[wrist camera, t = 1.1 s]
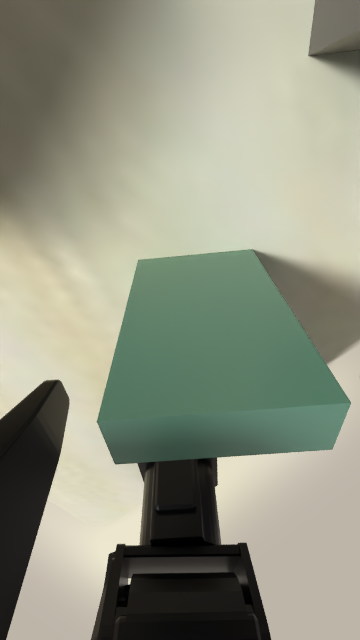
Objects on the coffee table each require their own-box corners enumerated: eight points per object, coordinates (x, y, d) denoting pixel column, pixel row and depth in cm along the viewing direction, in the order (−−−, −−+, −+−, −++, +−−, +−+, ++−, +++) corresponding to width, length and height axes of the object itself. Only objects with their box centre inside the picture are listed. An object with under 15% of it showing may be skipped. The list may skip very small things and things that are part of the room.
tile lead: (250, 283, 14) (332, 449, 7) (144, 292, 15) (114, 464, 7) (252, 249, 13) (350, 402, 6) (138, 260, 14) (96, 421, 6)
